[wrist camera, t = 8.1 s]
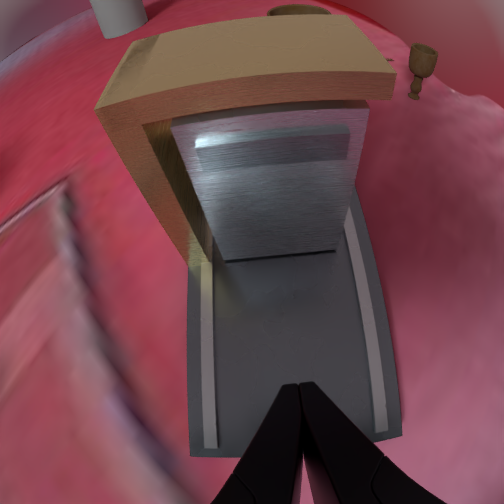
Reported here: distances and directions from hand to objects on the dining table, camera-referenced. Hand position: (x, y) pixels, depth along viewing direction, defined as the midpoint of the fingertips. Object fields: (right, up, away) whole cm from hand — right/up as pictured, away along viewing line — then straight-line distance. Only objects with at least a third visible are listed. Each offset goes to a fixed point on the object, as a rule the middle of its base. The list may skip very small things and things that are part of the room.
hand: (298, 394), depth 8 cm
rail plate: (0, +2, +9) cm, 9 cm away
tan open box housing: (0, +6, +11) cm, 13 cm away
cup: (-23, +43, +34) cm, 60 cm away
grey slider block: (0, +4, +9) cm, 10 cm away
